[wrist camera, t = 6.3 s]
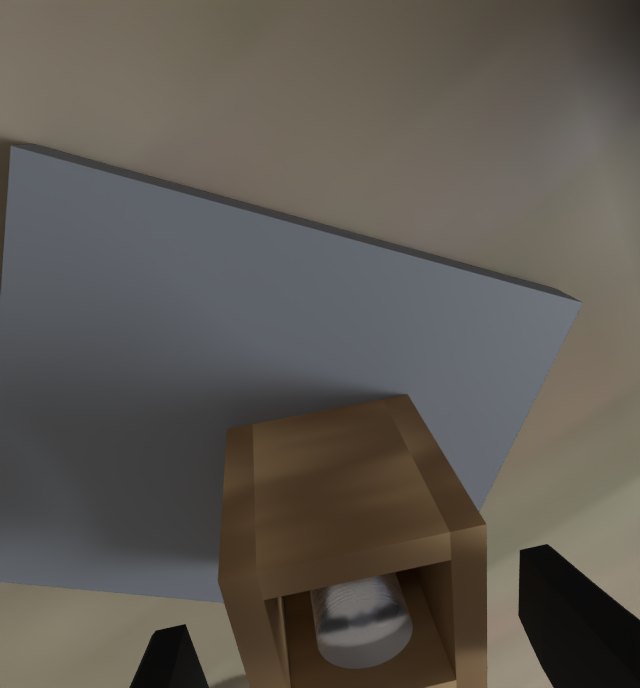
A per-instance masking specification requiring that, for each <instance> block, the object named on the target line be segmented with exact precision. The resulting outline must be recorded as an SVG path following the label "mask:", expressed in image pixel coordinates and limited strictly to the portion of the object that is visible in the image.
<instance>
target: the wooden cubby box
mask: <svg viewBox="0 0 640 688" xmlns="http://www.w3.org/2000/svg"><path fill="white" fill-rule="evenodd" d="M393 572H395V573H396V576H397V579H398V582H399V585H400V588H401V591H402V594H403V596H404V599H405V602H406V605H407V608H408V611H409V614H410V617H411V620H412V625H413V631H412V635H411V638H410V640H409V642H408V643H407V645H406V646H405V647H404V649H403V650H402V651H401V652H399V653H398V654H397V655H396V656H394V657H393V658H391V659H390V660H388V661H386V662H384V663H382V664H379V665H376V666H372V667H368V668H361V669H349V668H343V667H339V666H336V665H334V664H332V663H330V662H328V661H327V660H326V659H325V658H324V657H323V656H322V655H321V653H320V651H319V649H318V645H317V638H316V631H315V623H314V616H313V609H312V602H311V595H310V590H314V589H318V588H323V587H328V586H332V585H337V584H342V583H346V582H351V581H356V580H360V579H365V578H369V577H374V576H379V575H383V574H388V573H393ZM218 584H219V587H220V591H221V594H222V597H223V600H224V604H225V607H226V610H227V613H228V617H229V620H230V623H231V627H232V630H233V633H234V636H235V640H236V643H237V646H238V649H239V653H240V656H241V659H242V662H243V666H244V669H245V672H246V675H247V679H248V682H249V685H250V688H487V534H486V523H485V521H484V520H483V518H482V516H481V515H480V513H479V511H478V510H477V508H476V506H475V505H474V503H473V501H472V500H471V498H470V496H469V495H468V493H467V491H466V490H465V488H464V486H463V485H462V483H461V482H460V480H459V478H458V477H457V475H456V473H455V472H454V470H453V468H452V467H451V465H450V463H449V462H448V460H447V458H446V457H445V455H444V453H443V452H442V450H441V448H440V447H439V445H438V443H437V442H436V440H435V438H434V437H433V435H432V434H431V432H430V430H429V429H428V427H427V425H426V424H425V422H424V420H423V419H422V417H421V415H420V414H419V412H418V410H417V409H416V407H415V405H414V404H413V402H412V400H411V399H410V397H409V395H402V396H397V397H392V398H387V399H381V400H376V401H371V402H366V403H361V404H355V405H350V406H345V407H340V408H334V409H329V410H324V411H319V412H313V413H308V414H303V415H298V416H293V417H287V418H282V419H277V420H272V421H266V422H261V423H256V424H251V425H246V426H240V427H235V428H230V429H227V434H226V451H225V467H224V484H223V501H222V517H221V534H220V550H219V567H218Z"/></svg>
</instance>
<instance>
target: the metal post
mask: <svg viewBox="0 0 640 688" xmlns="http://www.w3.org/2000/svg"><path fill="white" fill-rule="evenodd" d="M310 595H311V602H312V609H313V616H314V623H315V631H316V638H317V645H318V649H319V651H320V653H321V655H322V656H323V657H324V658H325V659H326V660H327V661H328V662H330V663H332V664H334V665H336V666H339V667H343V668H349V669H361V668H368V667H372V666H376V665H379V664H382V663H384V662H386V661H388V660H390V659H391V658H393V657H394V656H396V655H397V654H398V653H399V652H401V651H402V650H403V649H404V647H405V646H406V645H407V643H408V642H409V640H410V638H411V635H412V631H413V625H412V620H411V617H410V614H409V611H408V608H407V605H406V602H405V599H404V596H403V594H402V591H401V588H400V585H399V582H398V579H397V576H396V573H395V572H393V573H388V574H383V575H379V576H374V577H369V578H365V579H360V580H356V581H351V582H346V583H342V584H337V585H332V586H328V587H323V588H318V589H314V590H310Z"/></svg>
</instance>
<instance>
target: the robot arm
mask: <svg viewBox="0 0 640 688" xmlns="http://www.w3.org/2000/svg"><path fill="white" fill-rule="evenodd" d="M518 616H519V618H520V620H521V623H522V625H523V627H524V629H525V631H526V634H527V636H528V638H529V640H530V643H531V645H532V647H533V649H534V651H535V653H536V656H537V658H538V660H539V662H540V664H541V666H542V668H543V670H544V672H545V673H546V675H547V677H548V679H549V680H550V682H551V684H552V686H553V687H554V688H640V620H639V619H638V618H637V617H635V616H634V615H633V614H632V613H630V612H629V611H628V610H626V609H625V608H624V607H623V606H621V605H620V604H619V603H618V602H616V601H615V600H614V599H613V598H612V597H610V596H609V595H608V594H607V593H605V592H604V591H603V590H602V589H601V588H599V587H598V586H597V585H596V584H595V583H593V582H592V581H591V580H590V579H589V578H587V577H586V576H585V575H584V574H583V573H581V572H580V571H579V570H578V569H577V568H575V567H574V566H573V565H572V564H571V563H570V562H568V561H567V560H566V559H565V558H564V557H562V556H561V555H560V554H559V553H558V552H557V551H555V550H554V549H553V548H552V547H550V546H549V545H548V544H545V545H541V546H536V547H532V548H527V549H523V550H520V569H519V613H518ZM130 688H209V686H208V684H207V681H206V678H205V676H204V673H203V670H202V667H201V665H200V662H199V659H198V657H197V654H196V651H195V649H194V646H193V643H192V641H191V638H190V635H189V632H188V630H187V627H186V624H184V625H180V626H175V627H171V628H166V629H161V630H157V631H155V633H154V634H153V635H152V637H151V639H150V642H149V644H148V646H147V649H146V651H145V653H144V656H143V658H142V660H141V663H140V665H139V667H138V670H137V672H136V674H135V676H134V679H133V681H132V683H131V685H130Z"/></svg>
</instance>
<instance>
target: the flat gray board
mask: <svg viewBox="0 0 640 688" xmlns="http://www.w3.org/2000/svg"><path fill="white" fill-rule="evenodd" d="M581 305H582V302H581V301H579V300H577V299H575V298H573V297H571V296H569V295H567V294H565V293H563V292H562V291H560V290H558V289H554V288H551V287H547V286H543V285H540V284H536V283H533V282H529V281H525V280H522V279H518V278H515V277H511V276H507V275H504V274H500V273H497V272H493V271H489V270H486V269H482V268H479V267H475V266H471V265H468V264H464V263H461V262H457V261H453V260H450V259H446V258H443V257H439V256H435V255H432V254H428V253H425V252H421V251H417V250H414V249H410V248H406V247H403V246H399V245H396V244H392V243H388V242H385V241H381V240H378V239H374V238H370V237H367V236H363V235H360V234H356V233H352V232H349V231H345V230H342V229H338V228H334V227H331V226H327V225H324V224H320V223H316V222H313V221H309V220H306V219H302V218H298V217H295V216H291V215H288V214H284V213H280V212H277V211H273V210H270V209H266V208H262V207H259V206H255V205H252V204H248V203H244V202H241V201H237V200H234V199H230V198H226V197H223V196H219V195H216V194H212V193H208V192H205V191H201V190H198V189H194V188H190V187H187V186H183V185H180V184H176V183H172V182H169V181H165V180H162V179H158V178H154V177H151V176H147V175H144V174H140V173H136V172H133V171H129V170H126V169H122V168H118V167H115V166H111V165H108V164H104V163H100V162H97V161H93V160H90V159H86V158H82V157H79V156H75V155H72V154H68V153H64V152H61V151H57V150H54V149H50V148H46V147H43V146H39V145H36V144H26V145H14V146H11V150H10V164H9V179H8V193H7V207H6V222H5V236H4V250H3V265H2V279H1V293H0V582H7V583H17V584H28V585H39V586H50V587H60V588H71V589H82V590H92V591H103V592H114V593H124V594H135V595H146V596H157V597H167V598H178V599H189V600H199V601H210V602H221V603H224V600H223V597H222V594H221V591H220V587H219V584H218V567H219V550H220V534H221V517H222V501H223V484H224V467H225V451H226V434H227V429H230V428H235V427H240V426H246V425H251V424H256V423H261V422H266V421H272V420H277V419H282V418H287V417H293V416H298V415H303V414H308V413H313V412H319V411H324V410H329V409H334V408H340V407H345V406H350V405H355V404H361V403H366V402H371V401H376V400H381V399H387V398H392V397H397V396H402V395H409V397H410V399H411V400H412V402H413V404H414V405H415V407H416V409H417V410H418V412H419V414H420V415H421V417H422V419H423V420H424V422H425V424H426V425H427V427H428V429H429V430H430V432H431V434H432V435H433V437H434V438H435V440H436V442H437V443H438V445H439V447H440V448H441V450H442V452H443V453H444V455H445V457H446V458H447V460H448V462H449V463H450V465H451V467H452V468H453V470H454V472H455V473H456V475H457V477H458V478H459V480H460V482H461V483H462V485H463V486H464V488H465V490H466V491H467V493H468V495H469V496H470V498H471V500H472V501H473V503H474V505H475V506H476V508H477V510H478V511H480V509H481V507H482V505H483V503H484V501H485V499H486V497H487V495H488V493H489V491H490V489H491V487H492V485H493V483H494V481H495V479H496V477H497V475H498V473H499V471H500V469H501V467H502V465H503V463H504V461H505V459H506V457H507V455H508V453H509V451H510V449H511V447H512V445H513V442H514V440H515V438H516V436H517V434H518V432H519V430H520V428H521V426H522V424H523V422H524V420H525V418H526V416H527V414H528V412H529V410H530V408H531V406H532V404H533V402H534V400H535V398H536V396H537V394H538V392H539V390H540V388H541V386H542V384H543V382H544V380H545V378H546V376H547V374H548V372H549V370H550V368H551V366H552V364H553V362H554V360H555V358H556V356H557V354H558V352H559V350H560V348H561V346H562V344H563V342H564V340H565V338H566V336H567V334H568V332H569V329H570V327H571V325H572V323H573V321H574V319H575V317H576V315H577V313H578V311H579V309H580V307H581Z"/></svg>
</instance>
